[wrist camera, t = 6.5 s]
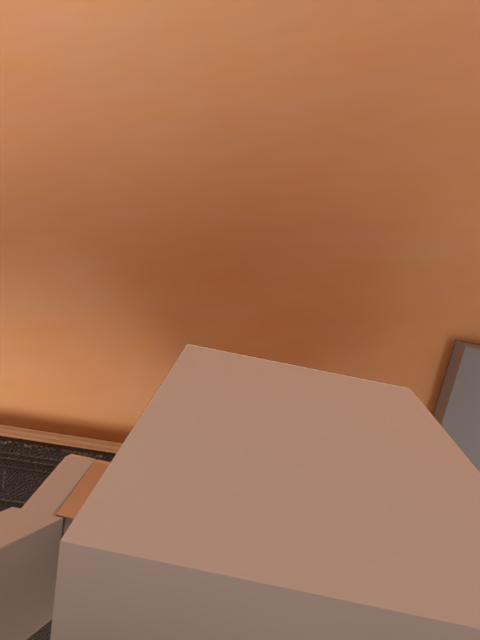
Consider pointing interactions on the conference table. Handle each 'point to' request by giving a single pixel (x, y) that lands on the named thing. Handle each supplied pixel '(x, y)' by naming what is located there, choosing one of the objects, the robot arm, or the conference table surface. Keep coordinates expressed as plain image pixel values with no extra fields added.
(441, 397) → the mounting plate
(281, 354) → the conference table surface
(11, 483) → the hardcover book
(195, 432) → the white cube with knob
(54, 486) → the robot arm
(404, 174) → the conference table surface
